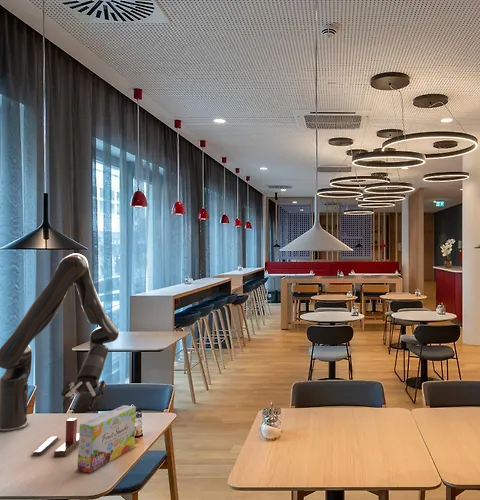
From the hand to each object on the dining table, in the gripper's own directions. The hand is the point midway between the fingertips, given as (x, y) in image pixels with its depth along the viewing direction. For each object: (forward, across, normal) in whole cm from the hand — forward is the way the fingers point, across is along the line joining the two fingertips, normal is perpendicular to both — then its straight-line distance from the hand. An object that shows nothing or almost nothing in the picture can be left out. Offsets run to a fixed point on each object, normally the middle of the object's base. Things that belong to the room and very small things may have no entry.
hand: (77, 407), depth 171 cm
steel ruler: (+12, -8, +6) cm, 16 cm away
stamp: (+12, 0, +6) cm, 14 cm away
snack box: (+20, +17, -2) cm, 26 cm away
